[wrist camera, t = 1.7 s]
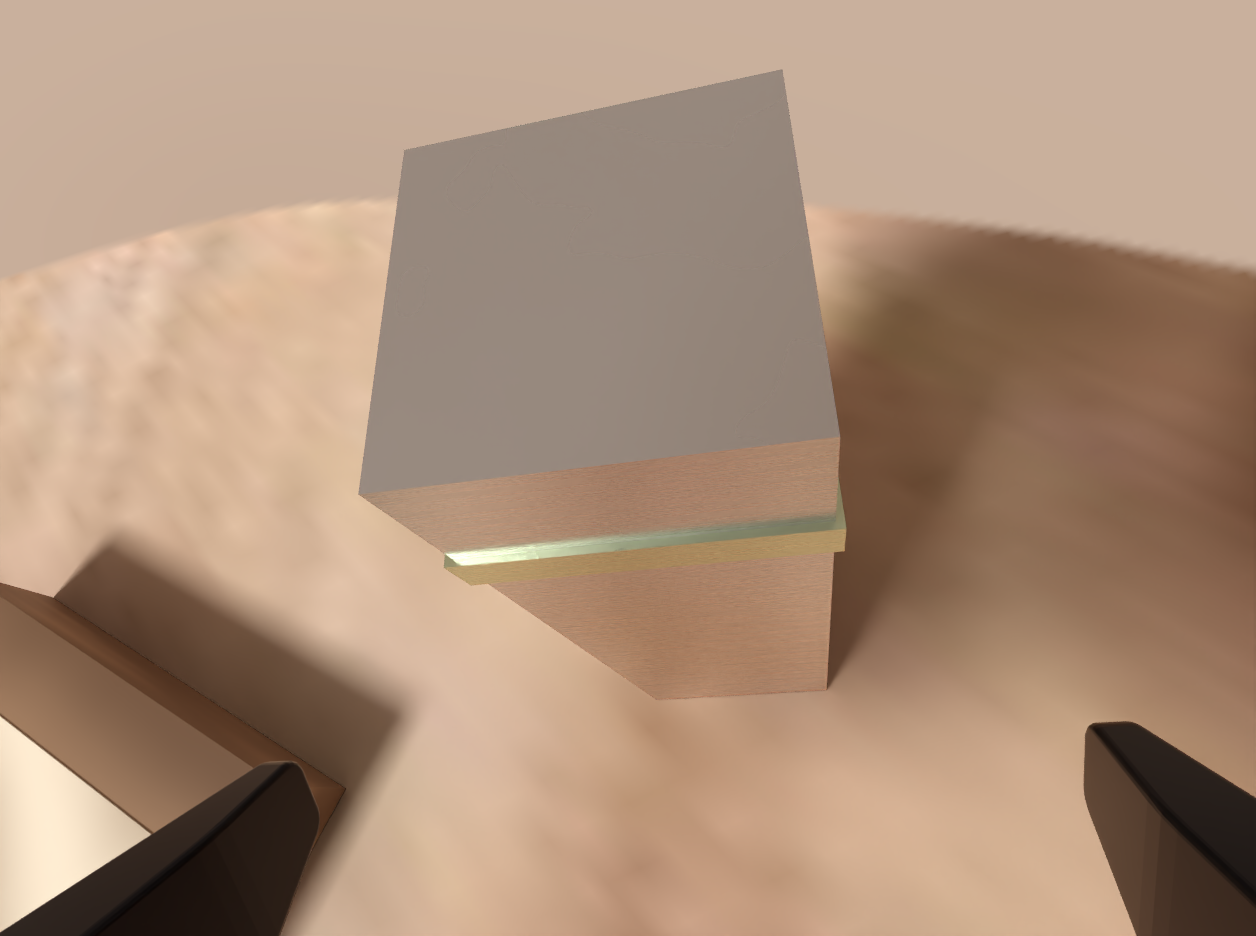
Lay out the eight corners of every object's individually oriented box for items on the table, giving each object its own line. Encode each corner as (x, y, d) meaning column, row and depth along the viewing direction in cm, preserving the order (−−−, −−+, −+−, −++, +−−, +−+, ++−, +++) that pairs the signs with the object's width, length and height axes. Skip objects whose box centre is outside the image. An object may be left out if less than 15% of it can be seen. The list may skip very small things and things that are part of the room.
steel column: (830, 694, 20) (853, 446, 6) (653, 703, 21) (348, 504, 7) (808, 523, 22) (790, 60, 8) (646, 539, 23) (398, 146, 9)
